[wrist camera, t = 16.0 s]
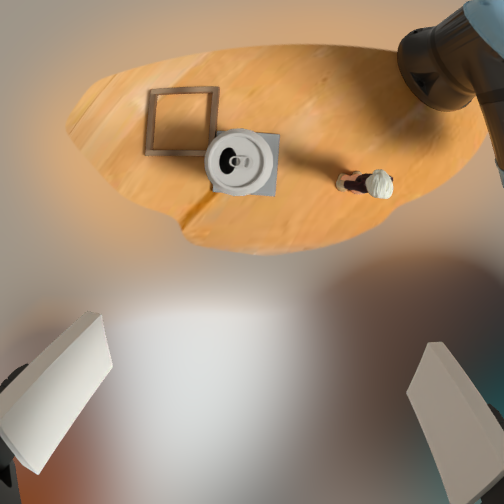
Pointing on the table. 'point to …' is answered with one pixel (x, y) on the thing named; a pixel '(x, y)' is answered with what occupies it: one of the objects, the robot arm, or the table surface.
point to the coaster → (270, 185)
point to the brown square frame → (153, 112)
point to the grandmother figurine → (367, 183)
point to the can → (238, 162)
